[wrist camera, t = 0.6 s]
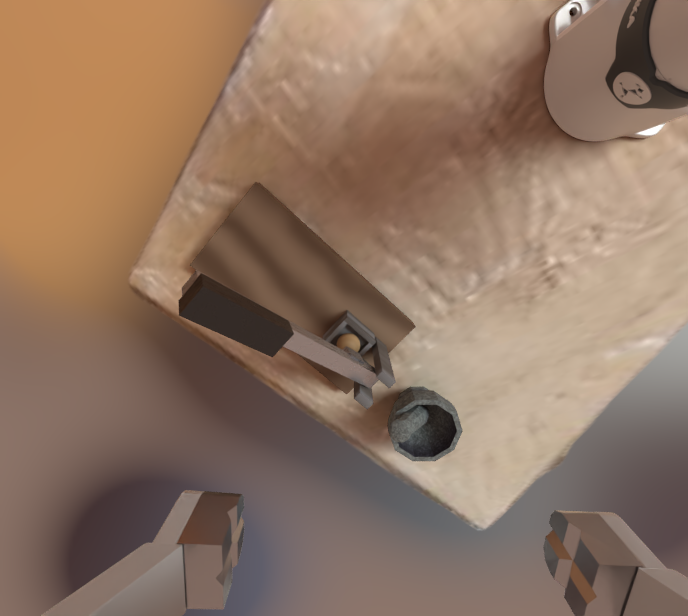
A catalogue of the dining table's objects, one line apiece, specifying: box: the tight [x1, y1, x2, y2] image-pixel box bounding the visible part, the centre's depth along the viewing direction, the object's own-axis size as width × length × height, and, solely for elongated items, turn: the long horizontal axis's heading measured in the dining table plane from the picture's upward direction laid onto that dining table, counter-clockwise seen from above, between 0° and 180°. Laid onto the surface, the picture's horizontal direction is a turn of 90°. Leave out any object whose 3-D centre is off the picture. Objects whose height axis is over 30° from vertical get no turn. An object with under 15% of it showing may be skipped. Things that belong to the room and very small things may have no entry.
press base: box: [190, 182, 415, 409], centre depth 45 cm, size 14×28×13 cm, turn 48°
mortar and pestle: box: [388, 387, 462, 461], centre depth 50 cm, size 11×9×12 cm
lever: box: [179, 270, 379, 388], centre depth 36 cm, size 3×24×4 cm, turn 48°
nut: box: [337, 333, 360, 352], centre depth 47 cm, size 3×3×3 cm
